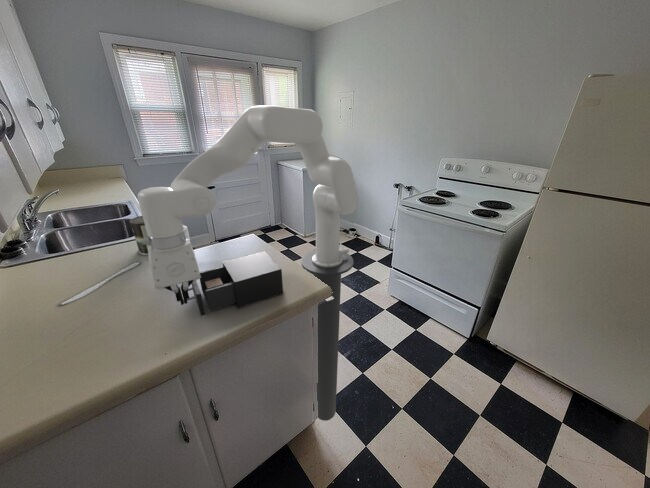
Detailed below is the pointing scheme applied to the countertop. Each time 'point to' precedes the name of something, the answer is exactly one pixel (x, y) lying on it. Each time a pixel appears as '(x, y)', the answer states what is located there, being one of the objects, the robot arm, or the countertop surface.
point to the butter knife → (99, 284)
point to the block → (213, 283)
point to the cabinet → (254, 278)
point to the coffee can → (140, 234)
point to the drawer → (214, 290)
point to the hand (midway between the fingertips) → (183, 301)
